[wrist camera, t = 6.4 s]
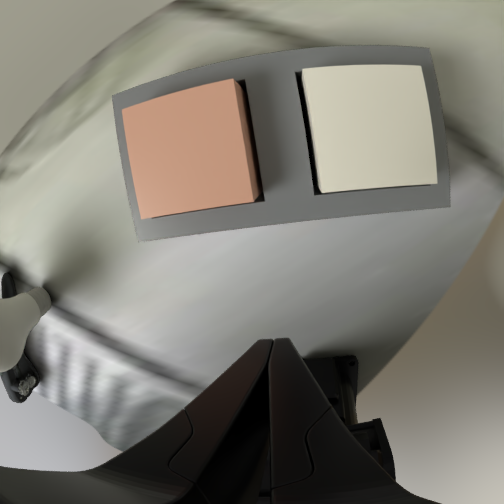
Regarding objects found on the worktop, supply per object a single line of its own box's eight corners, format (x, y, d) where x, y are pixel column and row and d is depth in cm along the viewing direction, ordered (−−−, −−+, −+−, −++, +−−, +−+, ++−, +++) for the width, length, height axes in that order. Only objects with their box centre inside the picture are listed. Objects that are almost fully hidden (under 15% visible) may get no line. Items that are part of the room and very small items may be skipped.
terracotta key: (263, 189, 17) (253, 201, 13) (174, 203, 18) (141, 219, 14) (248, 95, 16) (233, 78, 12) (158, 116, 17) (121, 109, 13)
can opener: (50, 393, 31) (28, 419, 26) (15, 370, 31) (-7, 392, 26) (30, 280, 25) (-7, 304, 19) (-7, 259, 25) (-41, 277, 20)
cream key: (406, 174, 16) (437, 183, 12) (315, 182, 17) (321, 192, 13) (393, 83, 14) (420, 65, 10) (301, 88, 15) (302, 68, 11)
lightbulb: (52, 259, 23) (-38, 315, 13) (79, 320, 25) (4, 391, 14) (20, 271, 24) (-57, 320, 14) (43, 324, 26) (-23, 383, 16)
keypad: (423, 195, 17) (450, 207, 14) (165, 225, 20) (138, 242, 17) (405, 65, 15) (429, 48, 11) (144, 102, 18) (111, 95, 14)
